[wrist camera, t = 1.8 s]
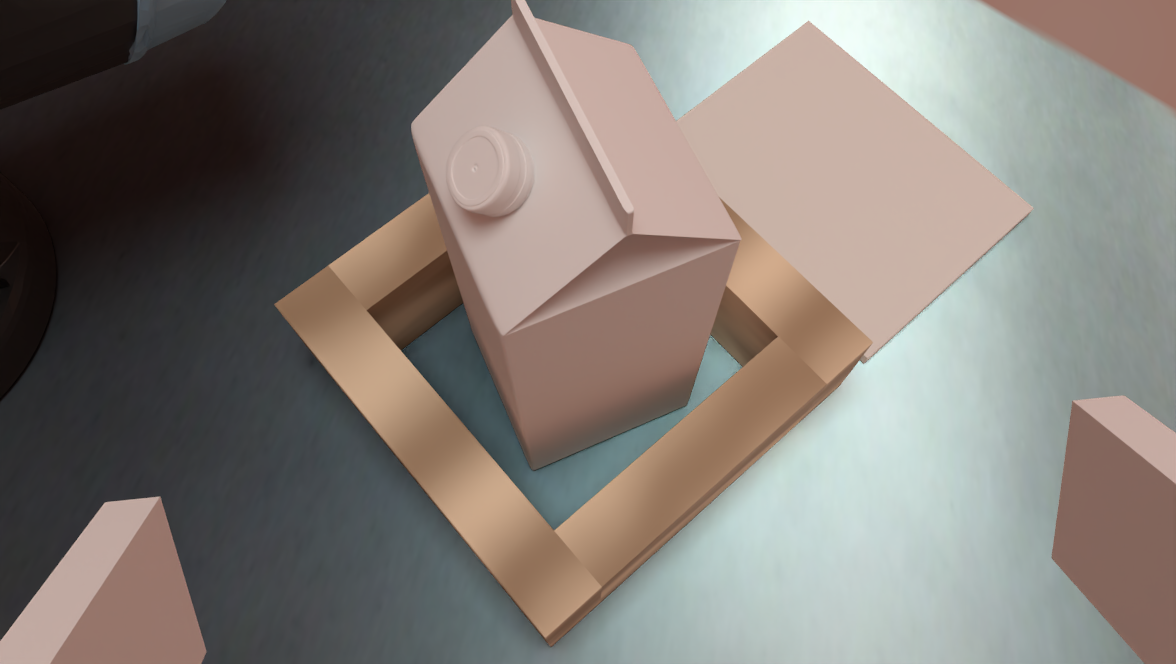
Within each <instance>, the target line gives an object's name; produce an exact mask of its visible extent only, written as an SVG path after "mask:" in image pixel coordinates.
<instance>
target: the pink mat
mask: <svg viewBox="0 0 1176 664" xmlns="http://www.w3.org/2000/svg"><path fill="white" fill-rule="evenodd" d="M676 122H677V124H678V126H679V128H680V129H681V131H682V133H683V135H684V136H685V138H686V140H687V142H688V143H689V145H690V147H691V149H692V151H693V152H694V154H695V156H696V158H697V159H698V161H699V163H700V165H701V166H702V168H703V170H704V172H705V174H706V175H707V177H708V179H709V181H710V182H711V184H712V186H713V188H714V189H715V191H716V193H717V195H718V196H719V197H720V198H721V199H722V200H723V201H724V202H725V203H726V204H727V205H728V206H729V207H730V208H731V209H732V210H733V211H734V212H736V213H737V214H738V215H739V216H740V217H741V218H742V219H743V220H744V221H745V222H746V223H747V224H748V225H749V226H750V227H751V228H753V229H754V230H755V231H756V232H757V233H758V234H759V235H760V236H761V237H762V238H763V239H764V240H765V241H766V242H767V243H768V244H769V245H771V246H772V247H773V248H774V249H775V250H776V251H777V252H778V253H779V254H780V255H781V256H782V257H783V258H784V259H785V260H786V261H788V262H789V263H790V264H791V265H792V266H793V267H794V268H795V269H796V270H797V271H798V272H799V273H800V274H801V275H802V276H803V277H804V278H806V279H807V280H808V281H809V282H810V283H811V284H812V285H813V286H814V287H815V288H816V289H817V290H818V291H819V292H820V293H821V294H823V295H824V296H825V297H826V298H827V299H828V300H829V301H830V302H831V303H832V304H833V305H834V306H835V307H836V308H837V309H838V310H839V311H841V312H842V313H843V314H844V315H845V316H846V317H847V318H848V319H849V320H850V321H851V322H852V323H853V324H854V325H855V326H856V327H858V328H859V329H860V330H861V331H862V332H863V333H864V334H865V335H866V336H867V337H868V338H869V339H870V340H871V341H872V342H873V343H872V345H871V346H870V347H869V349H868V350H867V351H866V352H865V354H864V355H863V356H862V358H861V359H860V360H861V361H862V362H863V363H865V362H866V361H867V360H869V359H870V358H871V357H872V356H873V355H874V354H875V353H876V352H877V351H878V350H880V349H881V348H882V347H883V346H884V345H885V344H886V343H887V342H888V341H889V340H891V339H892V338H893V337H894V336H895V335H896V334H897V333H898V332H899V331H901V330H902V329H903V328H904V327H905V326H906V325H907V324H908V323H909V322H910V321H912V320H913V319H914V318H915V317H916V316H917V315H918V314H919V313H920V312H921V311H923V310H924V309H925V308H926V307H927V306H928V305H929V304H930V303H931V302H932V301H934V300H935V299H936V298H937V297H938V296H939V295H940V294H941V293H942V292H944V291H945V290H946V289H947V288H948V287H949V286H950V285H951V284H952V283H953V282H955V281H956V280H957V279H958V278H959V277H960V276H961V275H962V274H963V273H964V272H966V271H967V270H968V269H969V268H970V267H971V266H972V265H973V264H974V263H976V262H977V261H978V260H979V259H980V258H981V257H982V256H983V255H984V254H985V253H987V252H988V251H989V250H990V249H991V248H992V247H993V246H994V245H995V244H996V243H998V242H999V241H1000V240H1001V239H1002V238H1003V237H1004V236H1005V235H1006V234H1007V233H1009V232H1010V231H1011V230H1012V229H1013V228H1014V227H1015V226H1016V225H1017V224H1019V223H1020V222H1021V221H1022V220H1023V219H1024V218H1025V217H1026V216H1027V215H1028V214H1029V213H1030V212H1031V211H1032V210H1033V209H1034V208H1033V207H1032V206H1030V205H1029V204H1028V203H1027V202H1026V201H1024V200H1023V199H1022V198H1021V197H1020V196H1018V195H1017V194H1016V193H1015V192H1014V191H1012V190H1011V189H1010V188H1009V187H1008V186H1006V185H1005V184H1004V183H1003V182H1002V181H1000V180H999V179H998V178H997V177H996V176H994V175H993V174H992V173H991V172H990V171H988V170H987V169H986V168H985V167H984V166H982V165H981V164H980V163H979V162H978V161H976V160H975V159H974V158H973V157H972V156H970V155H969V154H968V153H967V152H966V151H964V150H963V149H962V148H961V147H960V146H958V145H957V144H956V143H955V142H954V141H952V140H951V139H950V138H949V137H948V136H946V135H945V134H944V133H943V132H942V131H940V130H939V129H938V128H937V127H936V126H934V125H933V124H932V123H931V122H930V121H928V120H927V119H926V118H925V117H924V116H922V115H921V114H920V113H919V112H918V111H916V110H915V109H914V108H913V107H912V106H910V105H909V104H908V103H907V102H906V101H904V100H903V99H902V98H901V97H900V96H898V95H897V94H896V93H895V92H893V91H892V90H891V89H890V88H889V87H887V86H886V85H885V84H884V83H883V82H881V81H880V80H879V79H878V78H877V77H875V76H874V75H873V74H872V73H871V72H869V71H868V70H867V69H866V68H865V67H863V66H862V65H861V64H860V63H859V62H857V61H856V60H855V59H854V58H853V57H851V56H850V55H849V54H848V53H847V52H845V51H844V50H843V49H842V48H841V47H839V46H838V45H837V44H836V43H835V42H833V41H832V40H831V39H830V38H829V37H827V36H826V35H825V34H824V33H823V32H821V31H820V30H819V29H818V28H817V27H815V26H814V25H813V24H812V23H811V22H809V21H808V22H807V23H805V24H804V25H803V26H801V27H800V28H799V29H797V30H796V31H795V32H793V33H792V34H791V35H789V36H788V37H787V38H785V39H784V40H783V41H781V42H780V43H779V44H777V45H776V46H775V47H774V48H772V49H771V50H770V51H768V52H767V53H766V54H764V55H763V56H762V57H760V58H759V59H758V60H756V61H755V62H754V63H752V64H751V65H750V66H748V67H747V68H746V69H744V70H743V71H742V72H740V73H739V74H738V75H737V76H735V77H734V78H733V79H731V80H730V81H729V82H727V83H726V84H725V85H723V86H722V87H721V88H719V89H718V90H717V91H715V92H714V93H713V94H711V95H710V96H709V97H707V98H706V99H705V100H703V101H702V102H701V103H700V104H698V105H697V106H696V107H694V108H693V109H692V110H690V111H689V112H688V113H686V114H685V115H684V116H682V117H681V118H680V119H678V120H677V121H676Z"/></svg>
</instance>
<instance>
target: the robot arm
mask: <svg viewBox="0 0 1176 664" xmlns="http://www.w3.org/2000/svg"><path fill="white" fill-rule="evenodd" d="M225 2H226V0H0V109H3V108H6V107H8V106H11V105H14V104H16V103H19V102H22V101H24V100H27V99H30V98H32V97H35V96H38V95H40V94H43V93H46V92H48V91H51V90H54V89H56V88H59V87H62V86H64V85H67V84H70V83H73V82H75V81H78V80H81V79H83V78H86V77H89V76H91V75H94V74H97V73H99V72H102V71H105V70H107V69H110V68H113V67H115V66H118V65H121V64H124V65H127V64H130V63H132V62H134V61H137V60H140V59H141V58H142V57H143V56H144V55H145V53H146V51H147V50H149V49H151V48H153V47H155V46H157V45H160V44H162V43H164V42H166V41H168V40H170V39H172V38H174V37H177V36H179V35H181V34H183V33H185V32H187V31H189V30H191V29H194V28H196V27H198V26H200V25H202V24H204V23H206V22H208V21H209V20H210V19H211V18H213V17H214V16H215V15H216V14H217V13H218V11H219V10H220V9H221V8H222V6H223V5H224V3H225ZM55 288H56V261H55V253H54V248H53V244H52V240H51V237H50V234H49V231H48V229H47V227H46V224H45V222H44V221H43V219H42V217H41V215H40V214H39V212H38V211H37V209H36V208H35V206H34V205H33V204H32V203H31V201H30V200H29V199H28V198H27V197H26V196H25V195H24V194H23V193H22V192H21V191H20V190H19V189H18V188H17V187H16V186H14V185H13V184H12V183H11V182H10V181H9V180H8V179H7V178H6V177H5V176H3V175H2V174H1V173H0V398H1V397H2V396H3V395H4V394H5V393H6V391H7V390H8V389H9V388H10V387H11V386H12V384H13V383H14V382H15V381H16V379H17V378H18V377H19V375H20V374H21V373H22V371H23V370H24V368H25V367H26V365H27V364H28V362H29V360H30V359H31V357H32V355H33V354H34V352H35V350H36V348H37V346H38V344H39V342H40V340H41V338H42V336H43V333H44V331H45V328H46V326H47V323H48V320H49V317H50V313H51V310H52V305H53V301H54V295H55ZM1052 559H1053V560H1054V561H1055V562H1056V564H1057V565H1058V566H1059V567H1060V568H1061V569H1062V570H1063V572H1064V573H1065V574H1066V575H1067V576H1068V577H1069V578H1070V579H1071V581H1072V582H1073V583H1074V584H1075V585H1076V586H1077V587H1078V588H1079V590H1080V591H1081V592H1082V593H1083V594H1084V595H1085V596H1086V598H1087V599H1088V600H1089V601H1090V602H1091V603H1092V604H1093V605H1094V607H1095V608H1096V609H1097V610H1098V611H1099V612H1100V613H1101V615H1102V616H1103V617H1104V618H1105V619H1106V620H1107V621H1108V622H1109V624H1110V625H1111V626H1112V627H1113V628H1114V629H1115V630H1116V631H1117V633H1118V634H1119V635H1120V636H1121V637H1122V638H1123V639H1124V641H1125V642H1126V643H1127V644H1128V645H1129V646H1130V647H1131V648H1132V650H1133V651H1134V652H1135V653H1136V654H1137V655H1138V656H1139V657H1140V659H1141V660H1142V661H1143V662H1144V663H1145V664H1176V433H1175V432H1173V431H1172V430H1171V429H1169V428H1168V427H1167V426H1165V425H1164V424H1162V423H1161V422H1160V421H1158V420H1157V419H1156V418H1154V417H1153V416H1151V415H1150V414H1149V413H1147V412H1146V411H1145V410H1143V409H1142V408H1140V407H1139V406H1138V405H1136V404H1135V403H1134V402H1132V401H1131V400H1129V399H1128V398H1127V397H1125V396H1114V397H1105V398H1095V399H1085V400H1076V401H1073V402H1072V409H1071V416H1070V424H1069V431H1068V439H1067V446H1066V454H1065V461H1064V469H1063V476H1062V484H1061V491H1060V499H1059V506H1058V514H1057V521H1056V529H1055V536H1054V544H1053V551H1052ZM205 654H206V648H205V645H204V642H203V638H202V635H201V632H200V628H199V625H198V622H197V618H196V615H195V612H194V608H193V605H192V601H191V598H190V595H189V591H188V588H187V585H186V581H185V578H184V575H183V571H182V568H181V565H180V561H179V558H178V555H177V551H176V548H175V545H174V541H173V538H172V534H171V531H170V528H169V524H168V521H167V518H166V514H165V511H164V508H163V504H162V501H161V498H160V497H151V498H142V499H132V500H123V501H113V502H105V503H104V504H103V506H102V507H101V508H100V510H99V511H98V512H97V514H96V515H95V516H94V518H93V519H92V520H91V522H90V523H89V524H88V526H87V527H86V528H85V530H84V531H83V532H82V534H81V535H80V536H79V538H78V539H77V540H76V541H75V543H74V544H73V545H72V547H71V548H70V549H69V551H68V552H67V553H66V555H65V556H64V557H63V559H62V560H61V561H60V563H59V564H58V565H57V567H56V568H55V569H54V571H53V572H52V573H51V575H50V576H49V577H48V579H47V580H46V581H45V583H44V584H43V585H42V587H41V588H40V589H39V591H38V592H37V593H36V595H35V596H34V597H33V599H32V600H31V601H30V603H29V604H28V605H27V607H26V608H25V609H24V611H23V612H22V613H21V614H20V616H19V617H18V618H17V620H16V621H15V622H14V624H13V625H12V626H11V628H10V629H9V630H8V632H7V633H6V634H5V636H4V637H3V638H2V640H1V641H0V664H201V663H202V661H203V658H204V656H205Z"/></svg>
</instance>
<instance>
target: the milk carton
mask: <svg viewBox="0 0 1176 664" xmlns="http://www.w3.org/2000/svg"><path fill="white" fill-rule="evenodd" d="M511 5H512V13H513V15H512V16H511V17H510V18H509V19H508V20H507V21H506V22H505V24H504V25H503V26H502V27H501V28H500V29H499V30H498V31H497V32H496V33H495V34H494V35H493V36H492V37H491V38H490V40H489V41H488V42H487V43H486V44H485V45H484V46H483V47H482V48H481V49H480V50H479V51H478V52H477V53H476V54H475V56H474V57H473V58H472V59H471V60H470V61H469V62H468V63H467V64H466V65H465V66H464V67H463V68H462V69H461V70H460V72H459V73H458V74H457V75H456V76H455V77H454V78H453V79H452V80H451V81H450V82H449V83H448V84H447V85H446V86H445V88H444V89H443V90H442V91H441V92H440V93H439V94H438V95H437V96H436V97H435V98H434V99H433V100H432V101H431V102H430V103H429V105H428V106H427V107H426V108H425V109H424V110H423V111H422V112H421V113H420V114H419V115H418V116H417V118H416V119H415V120H414V121H413V122H412V124H411V132H412V137H413V141H414V144H415V148H416V151H417V155H418V158H419V161H420V164H421V168H422V171H423V174H424V177H425V181H426V184H427V187H428V190H429V193H430V197H431V200H432V203H433V206H434V210H435V213H436V216H437V219H438V223H439V226H440V229H441V232H442V235H443V239H444V242H445V245H446V248H447V252H448V255H449V258H450V261H451V265H452V268H453V271H454V274H455V278H456V281H457V284H458V287H459V290H460V294H461V297H462V300H463V303H464V307H465V310H466V313H467V316H468V320H469V323H470V326H471V329H472V332H473V334H474V337H475V339H476V342H477V344H478V346H479V349H480V351H481V353H482V356H483V358H484V360H485V363H486V365H487V368H488V370H489V372H490V375H491V377H492V379H493V382H494V384H495V386H496V389H497V391H498V393H499V396H500V398H501V400H502V403H503V405H504V407H505V410H506V412H507V415H508V417H509V419H510V422H511V424H512V426H513V429H514V431H515V433H516V436H517V438H518V440H519V443H520V445H521V447H522V450H523V452H524V454H525V457H526V459H527V461H528V463H529V465H530V467H531V469H532V470H537V469H539V468H541V467H544V466H546V465H548V464H551V463H553V462H555V461H558V460H560V459H562V458H565V457H567V456H569V455H571V454H574V453H576V452H578V451H581V450H583V449H585V448H588V447H590V446H592V445H595V444H597V443H599V442H602V441H604V440H606V439H609V438H611V437H613V436H616V435H618V434H620V433H623V432H625V431H627V430H630V429H632V428H634V427H637V426H639V425H641V424H644V423H646V422H648V421H651V420H653V419H655V418H658V417H660V416H662V415H665V414H667V413H669V412H672V411H674V410H676V409H679V408H681V407H683V406H686V405H687V404H688V401H689V398H690V395H691V392H692V389H693V386H694V382H695V379H696V376H697V373H698V370H699V367H700V364H701V361H702V358H703V355H704V352H705V348H706V345H707V342H708V339H709V336H710V333H711V330H712V327H713V324H714V321H715V318H716V315H717V311H718V308H719V305H720V302H721V299H722V296H723V293H724V290H725V287H726V284H727V281H728V277H729V274H730V271H731V268H732V265H733V262H734V259H735V256H736V253H737V250H738V247H739V244H740V241H741V240H742V239H741V236H740V234H739V232H738V230H737V229H736V227H735V225H734V223H733V221H732V220H731V218H730V216H729V214H728V212H727V211H726V209H725V207H724V205H723V204H722V202H721V200H720V198H719V196H718V195H717V193H716V191H715V189H714V188H713V186H712V184H711V182H710V181H709V179H708V177H707V175H706V174H705V172H704V170H703V168H702V166H701V165H700V163H699V161H698V159H697V158H696V156H695V154H694V152H693V151H692V149H691V147H690V145H689V143H688V142H687V140H686V138H685V136H684V135H683V133H682V131H681V129H680V128H679V126H678V124H677V122H676V121H675V119H674V117H673V115H672V113H671V112H670V110H669V108H668V106H667V105H666V103H665V101H664V99H663V98H662V96H661V94H660V92H659V91H658V89H657V87H656V85H655V83H654V82H653V80H652V78H651V76H650V75H649V73H648V71H647V69H646V68H645V66H644V64H643V62H642V61H641V59H640V57H639V56H638V54H637V52H636V51H635V49H634V48H633V46H632V45H630V44H626V43H623V42H619V41H616V40H612V39H608V38H605V37H601V36H598V35H594V34H590V33H587V32H583V31H580V30H576V29H573V28H569V27H565V26H562V25H558V24H555V23H551V22H547V21H544V20H540V19H537V18H534V17H533V15H532V13H531V11H530V9H529V7H528V5H527V3H526V1H525V0H511Z"/></svg>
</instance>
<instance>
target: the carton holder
mask: <svg viewBox="0 0 1176 664" xmlns="http://www.w3.org/2000/svg"><path fill="white" fill-rule="evenodd" d="M719 198H720V197H719ZM720 200H721V202H722V204H723V205H724V207H725V209H726V211H727V212H728V214H729V216H730V218H731V220H732V221H733V223H734V225H735V227H736V229H737V230H738V232H739V234H740V236H741V239H742V240H741V241H740V244H739V247H738V250H737V253H736V256H735V259H734V262H733V265H732V268H731V271H730V274H729V277H728V281H727V284H726V287H725V290H724V293H723V296H722V299H721V302H720V305H719V308H718V311H717V315H716V318H715V321H714V324H713V327H712V330H711V333H710V334H711V335H712V336H713V337H714V338H715V339H716V340H717V341H718V342H719V343H720V344H721V345H722V346H723V347H724V348H725V349H726V350H727V351H728V352H729V353H730V354H731V355H732V356H733V357H734V358H735V359H736V360H737V361H738V363H739V364H740V365H741V366H742V368H741V369H740V370H739V371H738V372H737V373H735V374H734V375H733V376H732V377H731V378H730V379H729V380H727V381H726V382H725V383H724V384H723V385H722V386H720V387H719V388H718V389H717V390H716V391H715V392H714V393H712V394H711V395H710V396H709V397H708V398H707V399H705V400H704V401H703V402H702V403H701V404H700V405H699V406H697V407H696V408H695V409H694V410H693V411H692V412H690V413H689V414H688V415H687V416H686V417H685V418H684V419H682V420H681V421H680V422H679V423H678V424H677V425H675V426H674V427H673V428H672V429H671V430H670V431H669V432H667V433H666V434H665V435H664V436H663V437H662V438H660V439H659V440H658V441H657V442H656V443H655V444H654V445H652V446H651V447H650V448H649V449H648V450H647V451H645V452H644V453H643V454H642V455H641V456H640V457H639V458H637V459H636V460H635V461H634V462H633V463H632V464H630V465H629V466H628V467H627V468H626V469H625V470H624V471H622V472H621V473H620V474H619V475H618V476H617V477H615V478H614V479H613V480H612V481H611V482H610V483H609V484H607V485H606V486H605V487H604V488H603V489H602V490H600V491H599V492H598V493H597V494H596V495H595V496H594V497H592V498H591V499H590V500H589V501H588V502H587V503H585V504H584V505H583V506H582V507H581V508H580V509H579V510H577V511H576V512H575V513H574V514H573V515H572V516H570V517H569V518H568V519H567V520H566V521H565V522H564V523H562V524H561V525H560V526H559V527H558V528H557V529H556V530H553V529H552V528H551V527H550V525H549V524H548V523H547V522H546V521H545V520H544V518H543V517H542V516H541V515H540V514H539V512H538V511H537V510H536V509H535V508H534V507H533V505H532V504H531V503H530V502H529V501H528V500H527V498H526V497H525V496H524V495H523V494H522V492H521V491H520V490H519V489H518V488H517V487H516V485H515V484H514V483H513V482H512V481H511V480H510V478H509V477H508V476H507V475H506V474H505V473H504V471H503V470H502V469H501V468H500V467H499V465H498V464H497V463H496V462H495V461H494V460H493V458H492V457H491V456H490V455H489V454H488V453H487V451H486V450H485V449H484V448H483V447H482V446H481V444H480V443H479V442H478V441H477V440H476V438H475V437H474V436H473V435H472V434H471V433H470V431H469V430H468V429H467V428H466V427H465V426H464V424H463V423H462V422H461V421H460V420H459V418H458V417H457V416H456V415H455V414H454V413H453V411H452V410H451V409H450V408H449V407H448V406H447V404H446V403H445V402H444V401H443V400H442V399H441V397H440V396H439V395H438V394H437V393H436V391H435V390H434V389H433V388H432V387H431V386H430V384H429V383H428V382H427V381H426V380H425V379H424V377H423V376H422V375H421V374H420V373H419V372H418V370H417V369H416V368H415V367H414V366H413V364H412V363H411V362H410V361H409V360H408V359H407V357H406V356H405V355H404V354H403V353H402V352H401V350H402V349H403V348H404V347H406V346H407V345H408V344H410V343H411V342H412V341H414V340H415V339H416V338H417V337H419V336H420V335H421V334H423V333H424V332H425V331H427V330H428V329H429V328H431V327H432V326H433V325H435V324H436V323H437V322H438V321H440V320H441V319H442V318H444V317H445V316H446V315H448V314H449V313H450V312H452V311H453V310H454V309H455V308H457V307H458V306H459V305H461V304H462V303H463V300H462V297H461V294H460V290H459V287H458V284H457V281H456V278H455V274H454V271H453V268H452V265H451V261H450V258H449V255H448V252H447V248H446V245H445V242H444V239H443V235H442V232H441V229H440V226H439V223H438V219H437V216H436V213H435V210H434V206H433V203H432V200H431V197H430V193H429V194H427V195H426V196H424V197H423V198H422V199H420V200H419V201H417V202H416V203H415V204H413V205H412V206H411V207H409V208H408V209H406V210H405V211H404V212H402V213H401V214H399V215H398V216H397V217H395V218H394V219H392V220H391V221H390V222H388V223H387V224H385V225H384V226H383V227H381V228H380V229H379V230H377V231H376V232H374V233H373V234H372V235H370V236H369V237H367V238H366V239H365V240H363V241H362V242H360V243H359V244H358V245H356V246H355V247H353V248H352V249H351V250H349V251H348V252H347V253H345V254H344V255H342V256H341V257H340V258H338V259H337V260H335V261H334V262H333V263H331V264H330V265H328V266H327V267H326V268H324V269H323V270H321V271H320V272H319V273H317V274H316V275H315V276H313V277H312V278H310V279H309V280H308V281H306V282H305V283H303V284H302V285H301V286H299V287H298V288H296V289H295V290H294V291H292V292H291V293H289V294H288V295H287V296H285V297H284V298H282V299H281V300H280V301H278V302H277V303H276V304H274V305H275V306H276V307H277V309H278V310H279V311H280V313H281V314H282V315H283V316H284V318H285V319H286V320H287V322H288V323H289V324H290V325H291V327H292V328H293V329H294V331H295V332H296V333H297V334H298V336H299V337H300V338H301V340H302V341H303V342H304V343H305V345H306V346H307V347H308V349H309V350H310V351H311V352H312V354H313V355H314V356H315V357H316V359H317V360H318V361H319V362H320V363H321V365H322V366H323V367H324V368H325V370H326V371H327V372H328V373H329V375H330V376H331V377H332V378H333V379H334V381H335V382H336V383H337V384H338V386H339V387H340V388H341V389H342V391H343V392H344V393H345V394H346V395H347V397H348V398H349V399H350V400H351V402H352V403H353V404H354V405H355V407H356V408H357V409H358V410H359V411H360V413H361V414H362V415H363V416H364V418H365V419H366V420H367V421H368V423H369V424H370V425H371V426H372V427H373V429H374V430H375V431H376V432H377V434H378V435H379V436H380V437H381V439H382V440H383V441H384V442H385V443H386V445H387V446H388V447H389V448H390V450H391V451H392V452H393V453H394V455H395V456H396V457H397V458H398V460H399V461H400V462H401V463H402V464H403V466H404V467H405V468H406V469H407V471H408V472H409V473H410V474H411V476H412V477H413V478H414V479H415V480H416V482H417V483H418V484H419V485H420V487H421V488H422V489H423V490H424V492H425V493H426V494H427V495H428V496H429V498H430V499H431V500H432V501H433V503H434V504H435V505H436V506H437V508H438V509H439V510H440V511H441V512H442V514H443V515H444V516H445V517H446V519H447V520H448V521H449V522H450V524H451V525H452V526H453V527H454V528H455V530H456V531H457V532H458V533H459V535H460V536H461V537H462V538H463V540H464V541H465V542H466V543H467V544H468V546H469V547H470V548H471V549H472V551H473V552H474V553H475V554H476V556H477V557H478V558H479V559H480V561H481V562H482V563H483V564H484V565H485V567H486V568H487V569H488V570H489V572H490V573H491V574H492V575H493V577H494V578H495V579H496V580H497V581H498V583H499V584H500V585H501V586H502V588H503V589H504V590H505V591H506V593H507V594H508V595H509V596H510V597H511V599H512V600H513V601H514V602H515V604H516V605H517V606H518V607H519V609H520V610H521V611H522V612H523V613H524V615H525V616H526V617H527V618H528V620H529V621H530V622H531V623H532V625H533V626H534V627H535V628H536V629H537V631H538V632H539V633H540V634H541V636H542V637H543V638H544V639H545V641H546V642H547V643H548V644H549V645H550V647H552V646H553V645H554V644H555V643H556V642H557V641H559V640H560V639H561V638H562V637H563V636H564V635H565V634H566V633H567V632H569V631H570V630H571V629H572V628H573V627H574V626H575V625H576V624H577V623H578V622H580V621H581V620H582V619H583V618H584V617H585V616H586V615H587V614H588V613H589V612H591V611H592V610H593V609H594V608H595V607H596V606H597V605H598V604H599V603H600V602H602V601H603V600H604V599H605V598H606V597H607V596H608V595H609V594H610V593H612V592H613V591H614V590H615V589H616V588H617V587H618V586H619V585H620V584H621V583H623V582H624V581H625V580H626V579H627V578H628V577H629V576H630V575H631V574H632V573H634V572H635V571H636V570H637V569H638V568H639V567H640V566H641V565H642V564H644V563H645V562H646V561H647V560H648V559H649V558H650V557H651V556H652V555H653V554H655V553H656V552H657V551H658V550H659V549H660V548H661V547H662V546H663V545H664V544H666V543H667V542H668V541H669V540H670V539H671V538H672V537H673V536H674V535H675V534H677V533H678V532H679V531H680V530H681V529H682V528H683V527H684V526H685V525H687V524H688V523H689V522H690V521H691V520H692V519H693V518H694V517H695V516H696V515H698V514H699V513H700V512H701V511H702V510H703V509H704V508H705V507H706V506H707V505H709V504H710V503H711V502H712V501H713V500H714V499H715V498H716V497H717V496H719V495H720V494H721V493H722V492H723V491H724V490H725V489H726V488H727V487H728V486H730V485H731V484H732V483H733V482H734V481H735V480H736V479H737V478H738V477H739V476H741V475H742V474H743V473H744V472H745V471H746V470H747V469H748V468H749V467H750V466H752V465H753V464H754V463H755V462H756V461H757V460H758V459H759V458H760V457H762V456H763V455H764V454H765V453H766V452H767V451H768V450H769V449H770V448H771V447H773V446H774V445H775V444H776V443H777V442H778V441H779V440H780V439H781V438H782V437H784V436H785V435H786V434H787V433H788V432H789V431H790V430H791V429H792V428H794V427H795V426H796V425H797V424H798V423H799V422H800V421H801V420H802V419H803V418H805V417H806V416H807V415H808V414H809V413H810V412H811V411H812V410H813V409H814V408H816V407H817V406H818V405H819V404H820V403H821V402H822V401H823V400H824V399H826V398H827V397H828V396H829V395H830V394H831V393H832V392H833V391H834V390H835V389H837V388H838V387H839V386H840V385H841V383H842V382H843V381H844V379H845V378H846V377H847V376H848V374H849V373H850V372H851V370H852V369H853V368H854V367H855V365H856V364H857V363H858V361H859V360H860V359H861V358H862V356H863V355H864V354H865V352H866V351H867V350H868V349H869V347H870V346H871V345H872V343H873V342H872V341H871V340H870V339H869V338H868V337H867V336H866V335H865V334H864V333H863V332H862V331H861V330H860V329H859V328H858V327H856V326H855V325H854V324H853V323H852V322H851V321H850V320H849V319H848V318H847V317H846V316H845V315H844V314H843V313H842V312H841V311H839V310H838V309H837V308H836V307H835V306H834V305H833V304H832V303H831V302H830V301H829V300H828V299H827V298H826V297H825V296H824V295H823V294H821V293H820V292H819V291H818V290H817V289H816V288H815V287H814V286H813V285H812V284H811V283H810V282H809V281H808V280H807V279H806V278H804V277H803V276H802V275H801V274H800V273H799V272H798V271H797V270H796V269H795V268H794V267H793V266H792V265H791V264H790V263H789V262H788V261H786V260H785V259H784V258H783V257H782V256H781V255H780V254H779V253H778V252H777V251H776V250H775V249H774V248H773V247H772V246H771V245H769V244H768V243H767V242H766V241H765V240H764V239H763V238H762V237H761V236H760V235H759V234H758V233H757V232H756V231H755V230H754V229H753V228H751V227H750V226H749V225H748V224H747V223H746V222H745V221H744V220H743V219H742V218H741V217H740V216H739V215H738V214H737V213H736V212H734V211H733V210H732V209H731V208H730V207H729V206H728V205H727V204H726V203H725V202H724V201H723V200H722V199H721V198H720Z"/></svg>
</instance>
